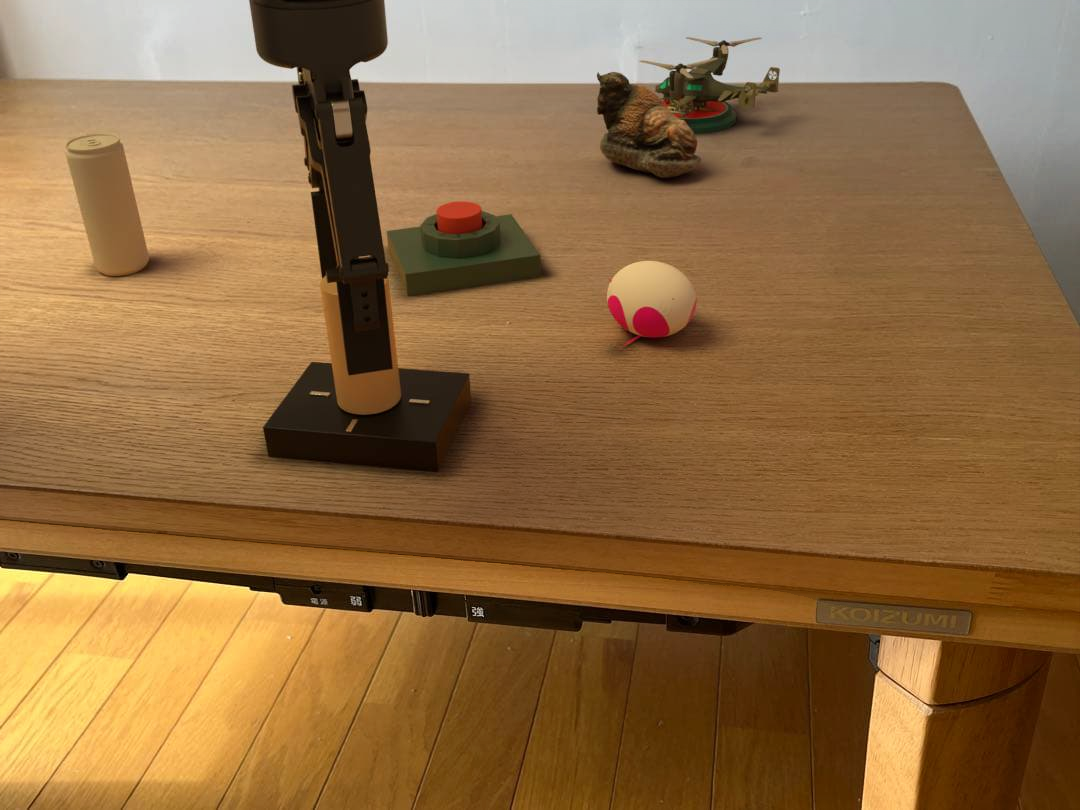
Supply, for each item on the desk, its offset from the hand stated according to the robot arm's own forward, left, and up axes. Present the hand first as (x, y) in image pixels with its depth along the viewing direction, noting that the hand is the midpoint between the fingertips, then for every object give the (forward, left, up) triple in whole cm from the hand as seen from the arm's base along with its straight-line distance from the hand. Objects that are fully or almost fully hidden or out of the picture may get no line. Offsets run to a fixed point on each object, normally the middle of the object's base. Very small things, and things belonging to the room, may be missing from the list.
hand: (354, 321), depth 73 cm
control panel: (0, 0, -9) cm, 9 cm away
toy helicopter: (+49, +55, -9) cm, 75 cm away
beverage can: (-18, +35, -9) cm, 40 cm away
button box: (+12, +25, -9) cm, 29 cm away
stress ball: (+23, +7, -9) cm, 26 cm away
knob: (0, 0, -6) cm, 6 cm away
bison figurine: (+36, +42, -9) cm, 56 cm away
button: (+12, +25, -5) cm, 28 cm away
